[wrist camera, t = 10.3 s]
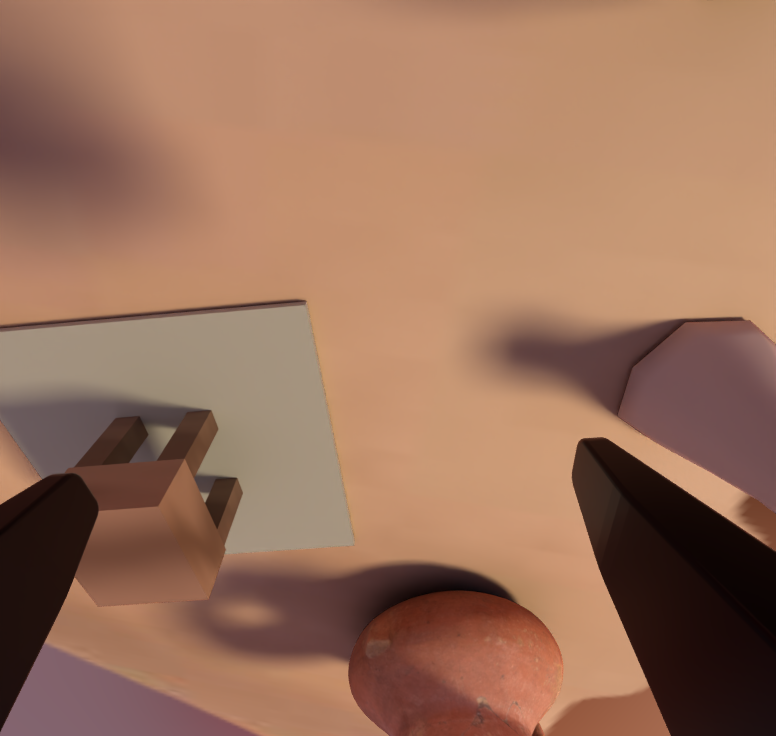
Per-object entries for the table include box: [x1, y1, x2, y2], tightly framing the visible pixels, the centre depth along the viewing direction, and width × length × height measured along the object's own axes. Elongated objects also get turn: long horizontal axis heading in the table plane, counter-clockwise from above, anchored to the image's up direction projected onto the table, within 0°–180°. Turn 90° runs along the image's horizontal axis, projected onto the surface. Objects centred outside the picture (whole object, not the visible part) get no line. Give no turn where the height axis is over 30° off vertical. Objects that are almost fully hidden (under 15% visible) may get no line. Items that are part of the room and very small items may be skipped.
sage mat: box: [0, 301, 355, 554], centre depth 23 cm, size 16×16×1 cm
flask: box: [617, 320, 776, 513], centre depth 17 cm, size 7×7×10 cm
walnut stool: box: [65, 410, 243, 607], centre depth 20 cm, size 6×5×6 cm
